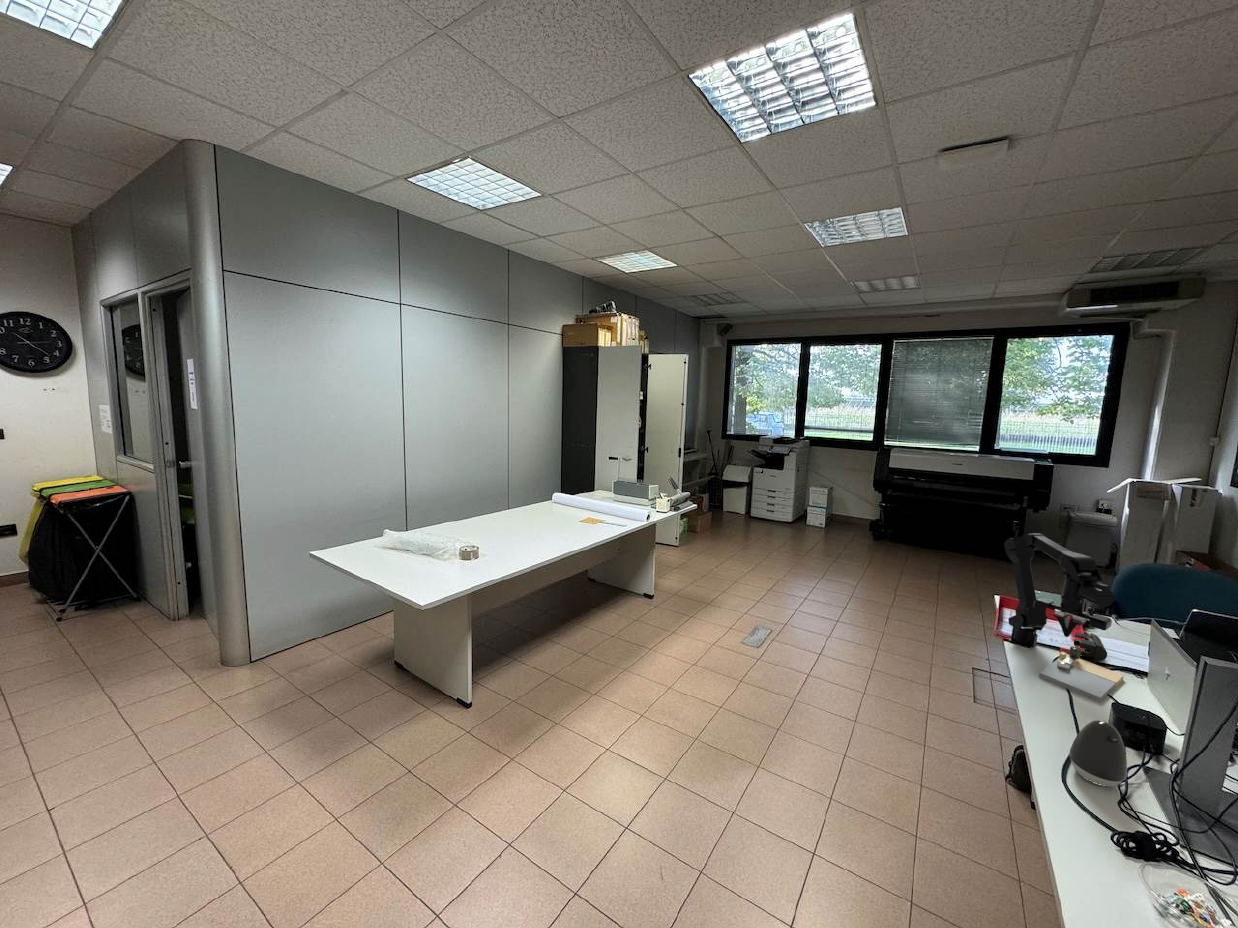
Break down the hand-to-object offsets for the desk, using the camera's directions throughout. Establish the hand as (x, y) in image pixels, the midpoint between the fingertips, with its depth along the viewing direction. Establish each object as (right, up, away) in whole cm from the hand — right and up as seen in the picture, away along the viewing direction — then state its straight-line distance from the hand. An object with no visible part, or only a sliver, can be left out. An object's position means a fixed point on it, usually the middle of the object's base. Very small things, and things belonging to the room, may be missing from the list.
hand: (1066, 636), depth 166 cm
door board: (+2, -13, -3) cm, 13 cm away
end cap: (+17, -11, +10) cm, 23 cm away
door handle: (+3, -10, +2) cm, 10 cm away
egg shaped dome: (-32, -20, -43) cm, 58 cm away
